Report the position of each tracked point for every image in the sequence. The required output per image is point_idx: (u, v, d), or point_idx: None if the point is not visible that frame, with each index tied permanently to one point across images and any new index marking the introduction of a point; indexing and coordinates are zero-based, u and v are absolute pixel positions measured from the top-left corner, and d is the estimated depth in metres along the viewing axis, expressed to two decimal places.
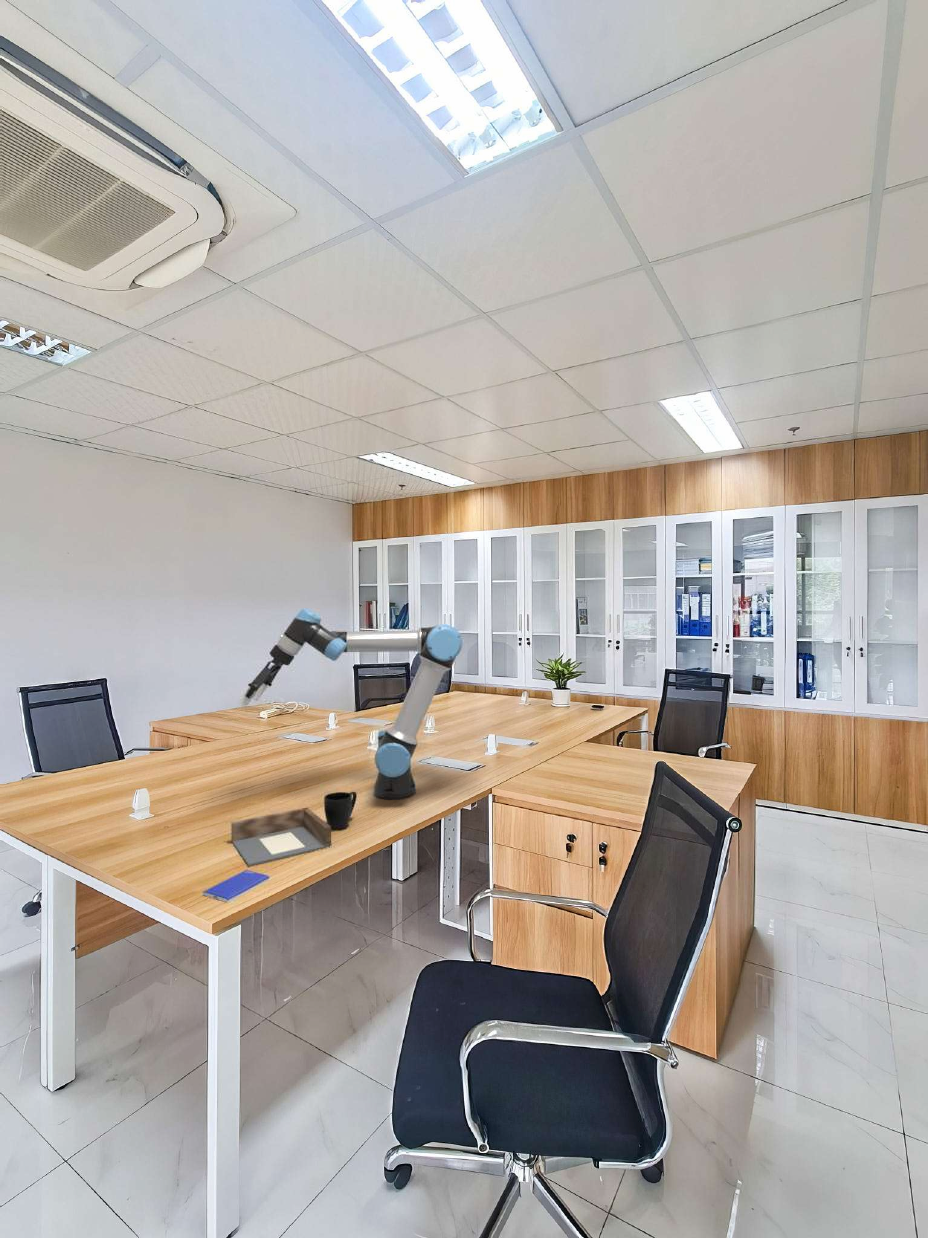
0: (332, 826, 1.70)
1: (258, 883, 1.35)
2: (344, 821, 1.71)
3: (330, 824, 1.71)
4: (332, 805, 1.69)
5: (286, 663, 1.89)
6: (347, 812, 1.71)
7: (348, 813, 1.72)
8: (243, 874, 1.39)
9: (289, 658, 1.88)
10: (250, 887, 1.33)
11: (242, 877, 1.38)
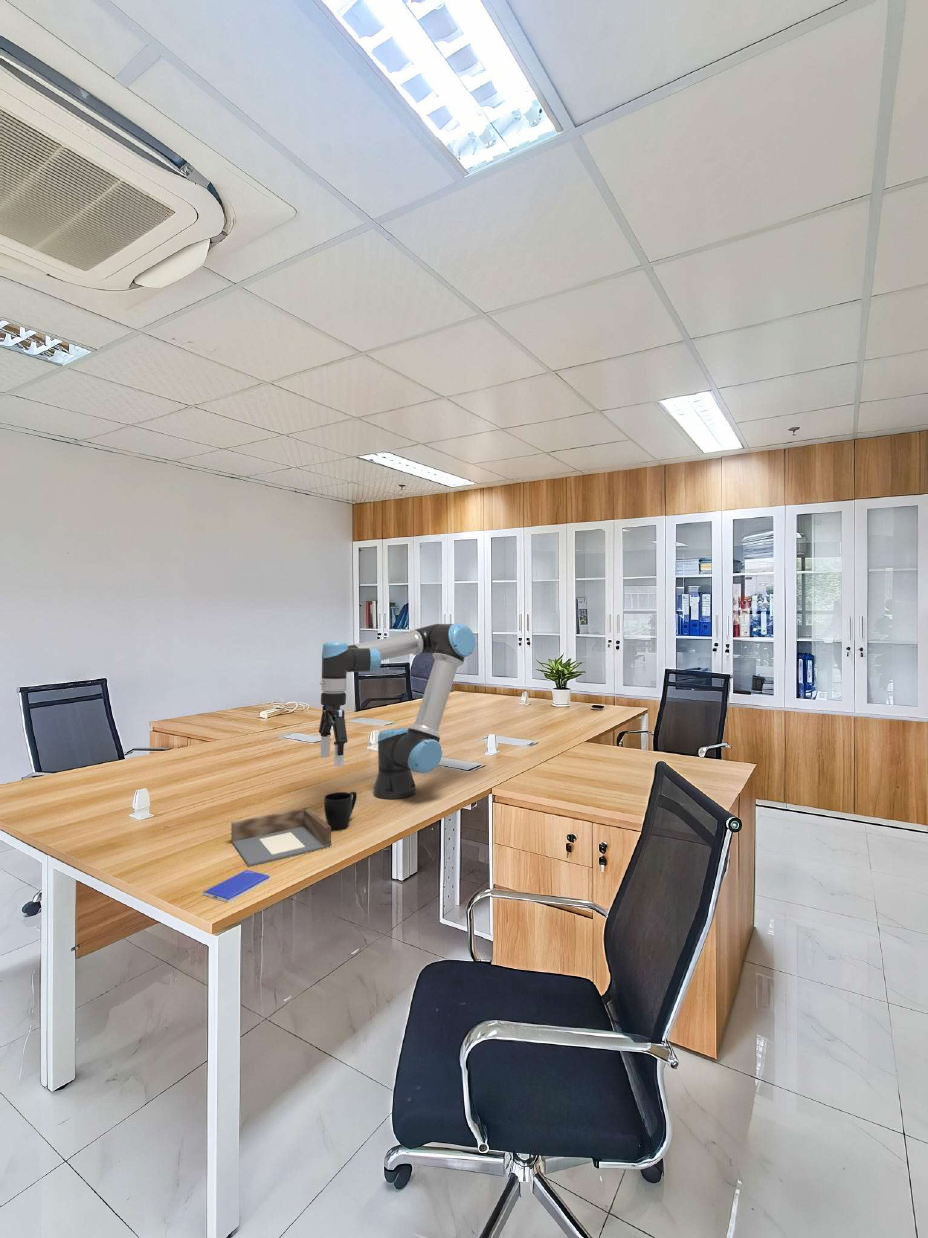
0: (332, 826, 1.70)
1: (258, 883, 1.35)
2: (344, 821, 1.71)
3: (330, 824, 1.71)
4: (332, 805, 1.69)
5: (345, 702, 1.75)
6: (347, 812, 1.71)
7: (348, 813, 1.72)
8: (243, 874, 1.39)
9: (345, 696, 1.75)
10: (250, 886, 1.33)
11: (242, 877, 1.38)
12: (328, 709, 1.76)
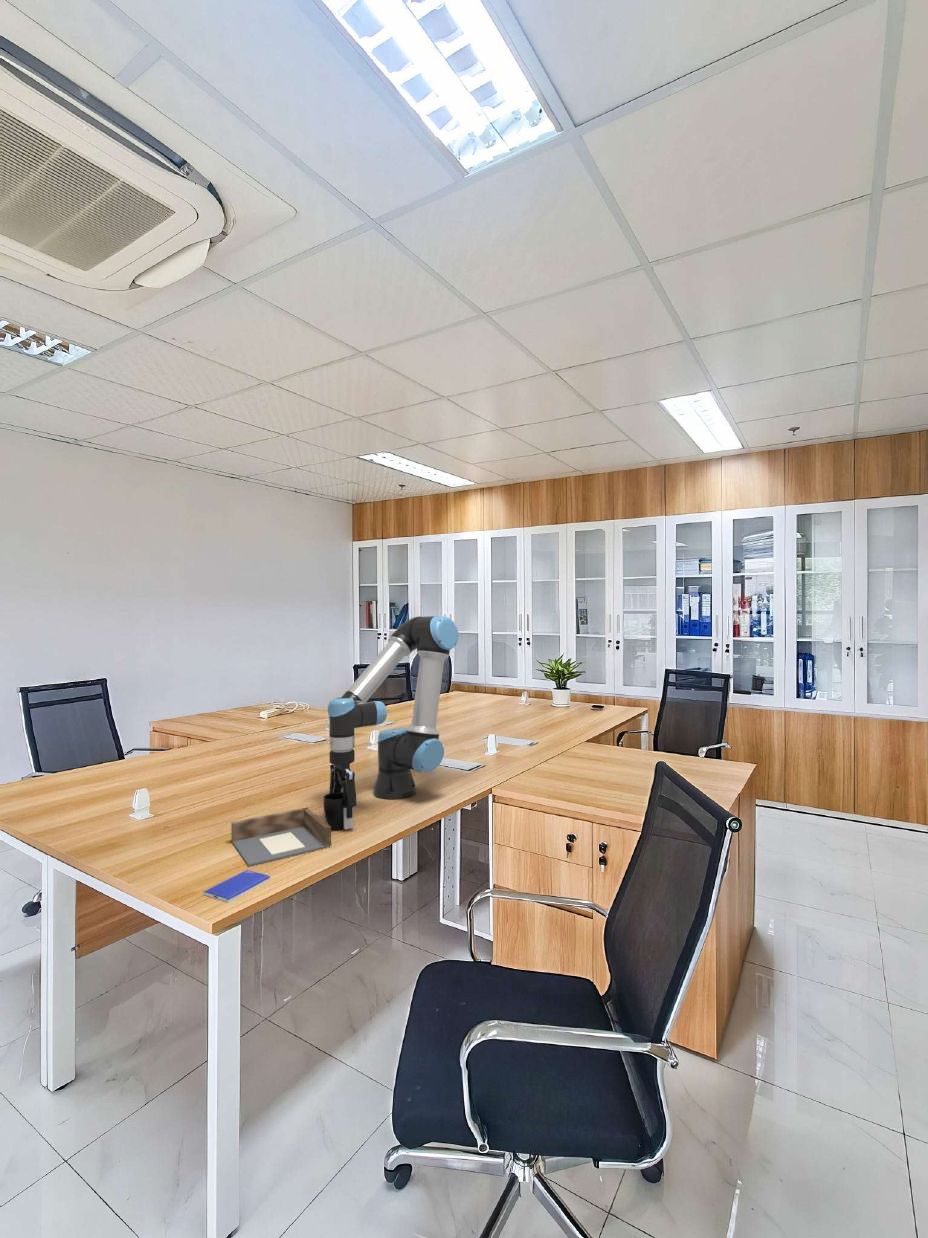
0: (332, 826, 1.71)
1: (258, 883, 1.35)
2: (343, 821, 1.71)
3: (329, 824, 1.71)
4: (331, 804, 1.69)
5: (354, 759, 1.75)
6: None
7: None
8: (244, 874, 1.39)
9: (353, 753, 1.74)
10: (251, 886, 1.33)
11: (242, 877, 1.38)
12: (337, 767, 1.75)
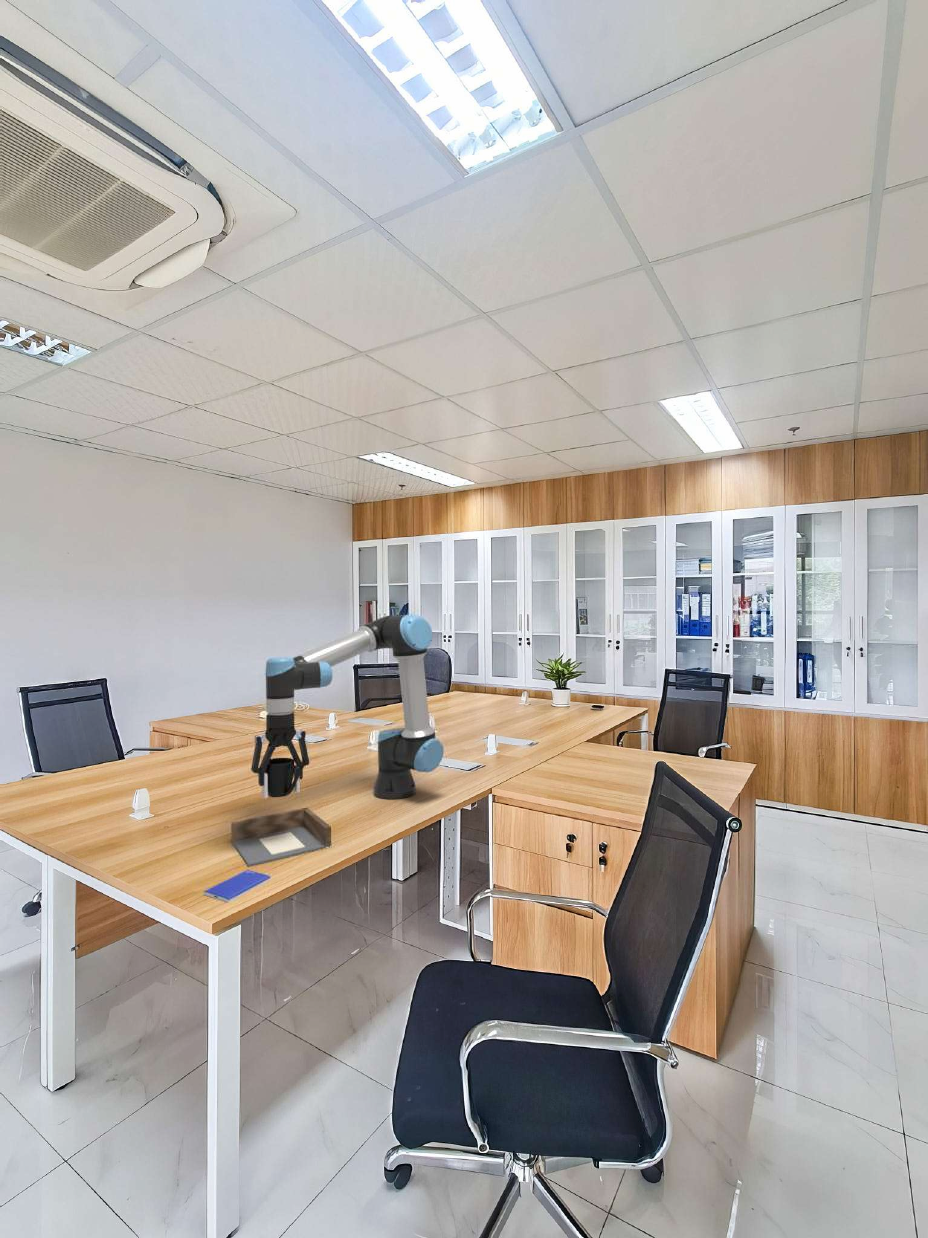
0: None
1: (258, 883, 1.35)
2: None
3: None
4: None
5: (276, 726, 1.56)
6: None
7: (268, 780, 1.57)
8: (244, 874, 1.39)
9: (274, 719, 1.56)
10: (251, 886, 1.33)
11: (243, 877, 1.38)
12: None
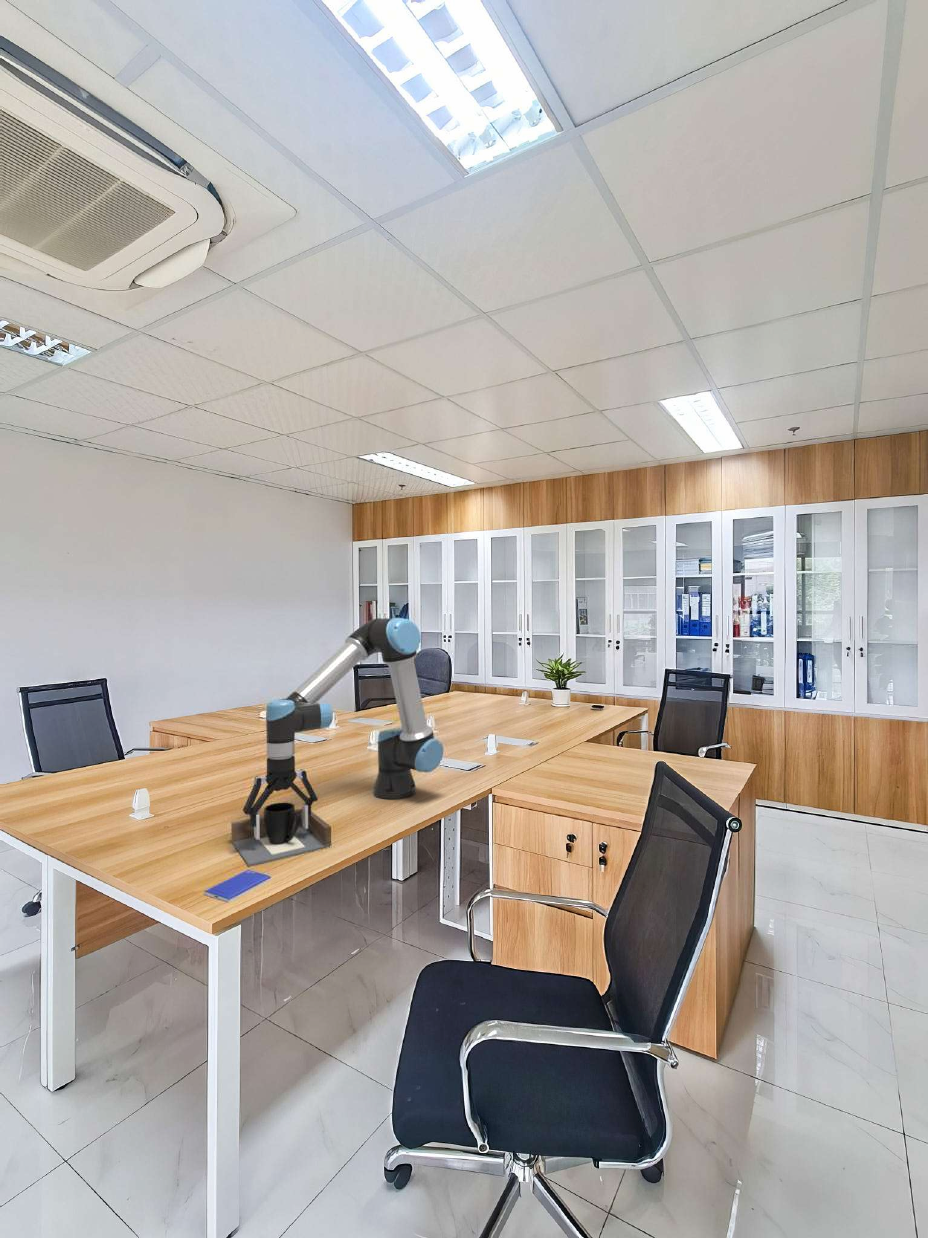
0: None
1: (259, 883, 1.35)
2: (268, 834, 1.59)
3: None
4: None
5: (276, 771, 1.56)
6: (267, 826, 1.58)
7: (269, 828, 1.58)
8: (245, 874, 1.40)
9: (275, 764, 1.56)
10: (251, 886, 1.33)
11: (243, 876, 1.38)
12: None
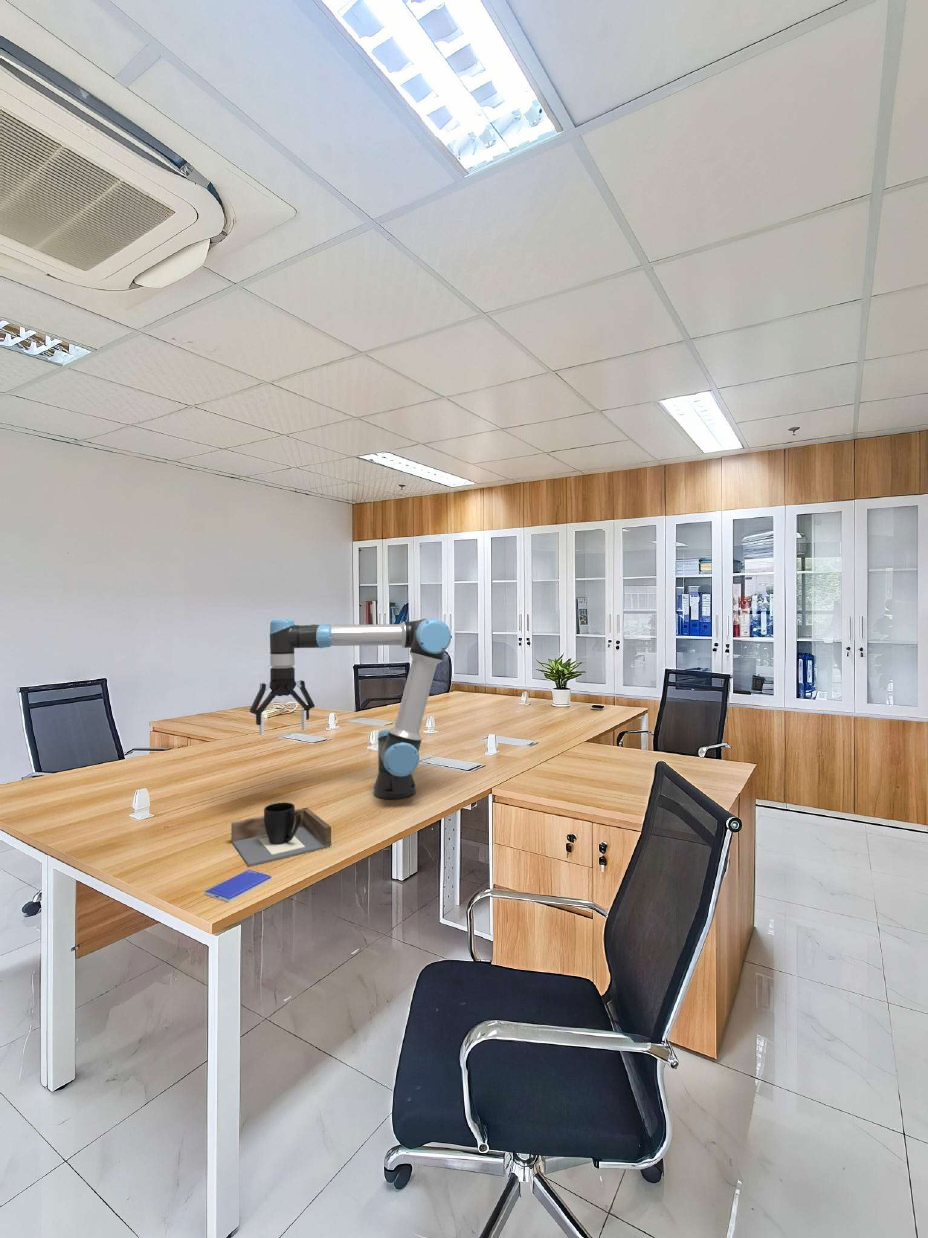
0: None
1: (259, 883, 1.35)
2: (268, 834, 1.59)
3: None
4: None
5: (278, 677, 1.81)
6: (267, 826, 1.58)
7: (269, 828, 1.58)
8: (245, 874, 1.40)
9: (277, 671, 1.81)
10: (252, 886, 1.33)
11: (244, 876, 1.38)
12: None
